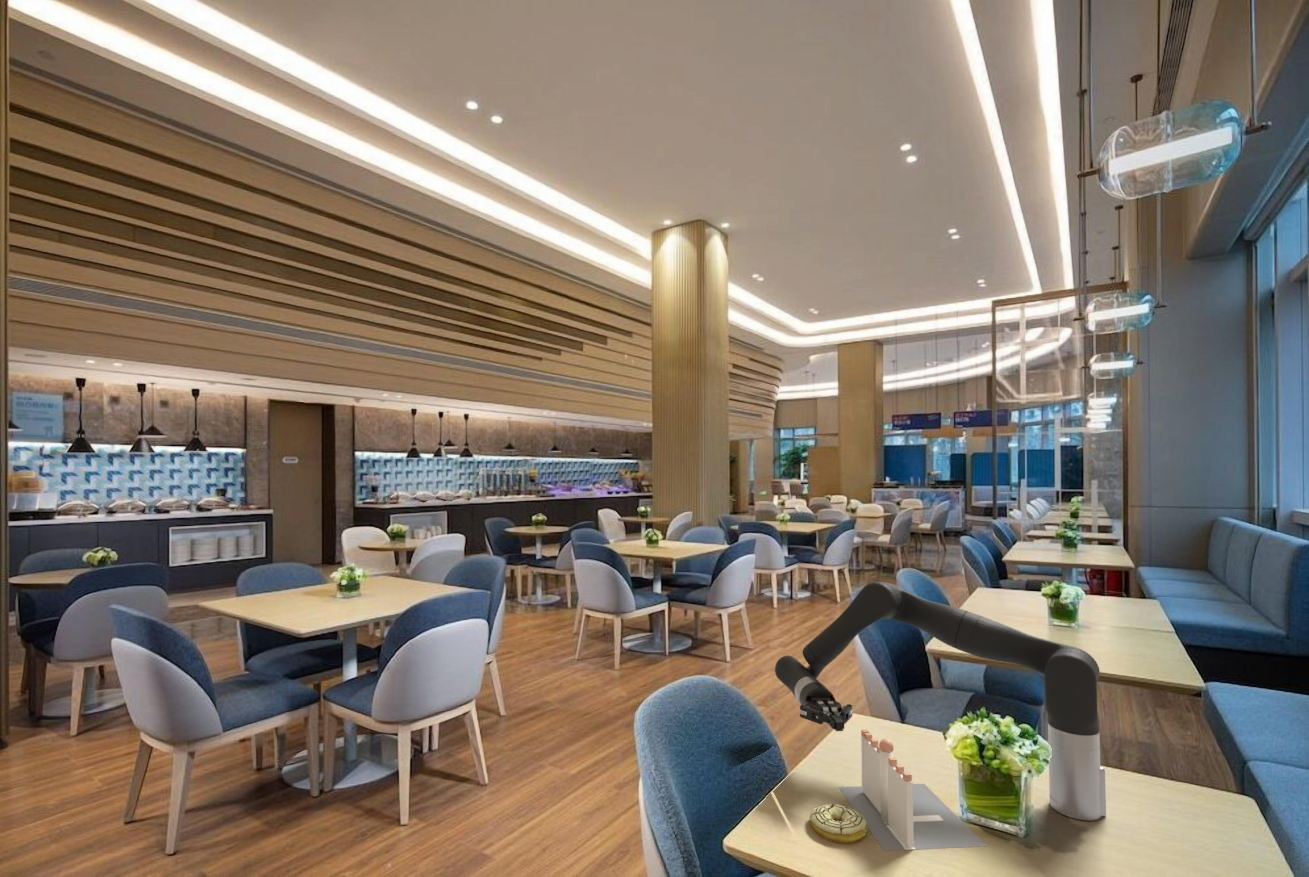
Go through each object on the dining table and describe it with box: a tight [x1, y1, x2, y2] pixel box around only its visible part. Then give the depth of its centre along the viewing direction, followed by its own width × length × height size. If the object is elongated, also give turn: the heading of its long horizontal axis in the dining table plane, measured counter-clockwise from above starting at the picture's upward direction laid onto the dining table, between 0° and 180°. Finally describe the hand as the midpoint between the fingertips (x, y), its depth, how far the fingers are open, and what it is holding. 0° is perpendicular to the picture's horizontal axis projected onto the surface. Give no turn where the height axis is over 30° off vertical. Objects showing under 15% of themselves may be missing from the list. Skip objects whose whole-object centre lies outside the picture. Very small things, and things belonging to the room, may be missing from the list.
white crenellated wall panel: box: [860, 729, 881, 814], centre depth 138 cm, size 10×1×13 cm, turn 5°
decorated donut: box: [809, 803, 868, 844], centre depth 129 cm, size 10×11×4 cm
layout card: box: [838, 783, 987, 852], centre depth 134 cm, size 20×24×1 cm
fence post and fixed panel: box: [878, 738, 914, 848], centre depth 128 cm, size 3×11×16 cm, turn 5°
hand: (839, 726), depth 140 cm, fingers closed
